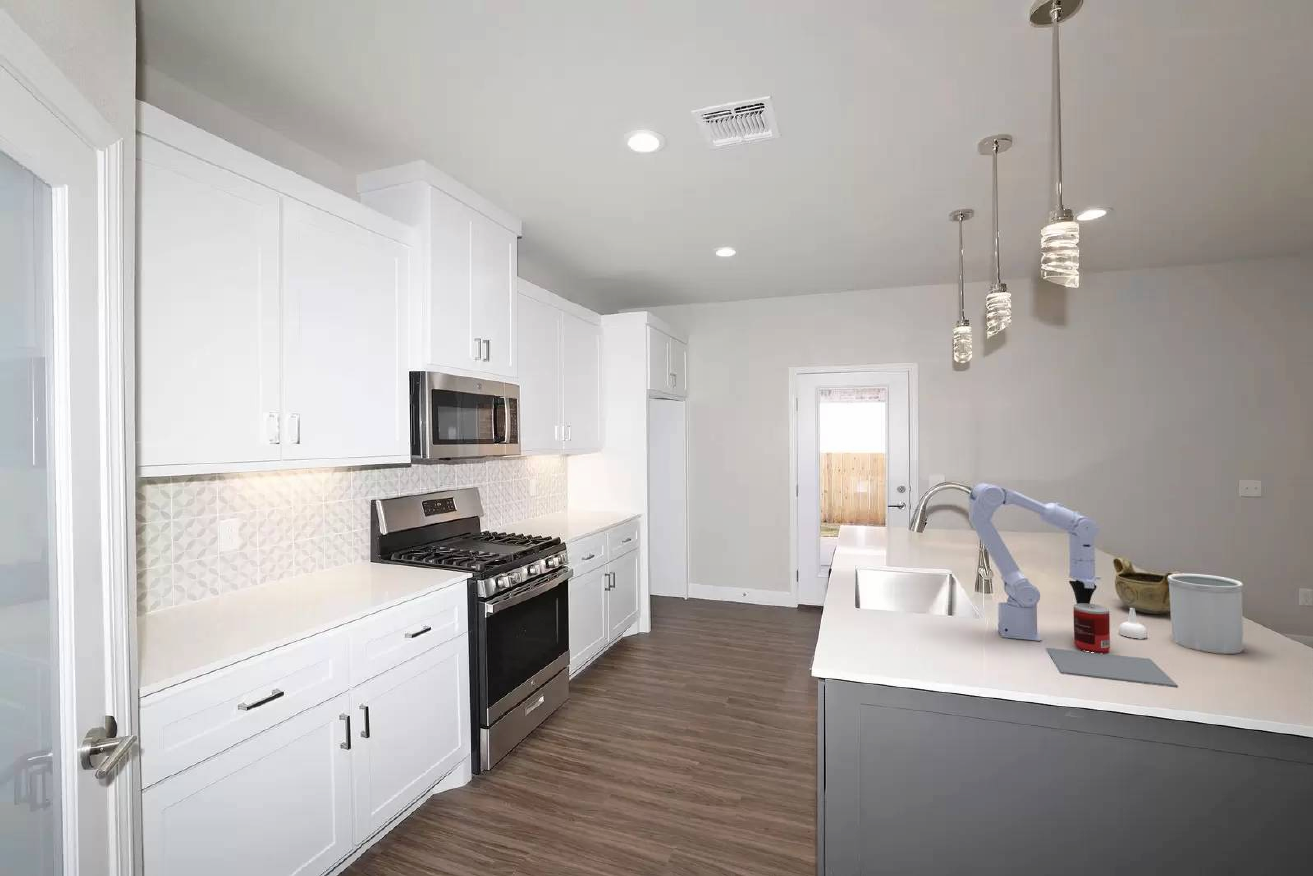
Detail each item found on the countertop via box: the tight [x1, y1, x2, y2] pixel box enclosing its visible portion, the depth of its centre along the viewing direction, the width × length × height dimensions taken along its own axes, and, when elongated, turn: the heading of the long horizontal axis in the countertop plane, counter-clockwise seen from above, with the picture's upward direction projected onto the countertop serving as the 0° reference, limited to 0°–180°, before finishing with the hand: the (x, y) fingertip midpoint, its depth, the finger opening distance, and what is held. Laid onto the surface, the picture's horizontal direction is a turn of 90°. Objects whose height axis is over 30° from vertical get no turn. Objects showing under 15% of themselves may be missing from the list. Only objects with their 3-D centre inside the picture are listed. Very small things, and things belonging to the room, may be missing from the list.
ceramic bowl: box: [1112, 557, 1184, 615], centre depth 188 cm, size 22×17×15 cm
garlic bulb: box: [1118, 607, 1148, 640], centre depth 166 cm, size 6×6×8 cm
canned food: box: [1072, 603, 1111, 654], centre depth 157 cm, size 8×8×11 cm
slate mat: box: [1045, 647, 1179, 688], centre depth 145 cm, size 22×17×1 cm
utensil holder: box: [1168, 573, 1244, 655], centre depth 158 cm, size 15×15×18 cm
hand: (1083, 608), depth 164 cm, fingers closed
